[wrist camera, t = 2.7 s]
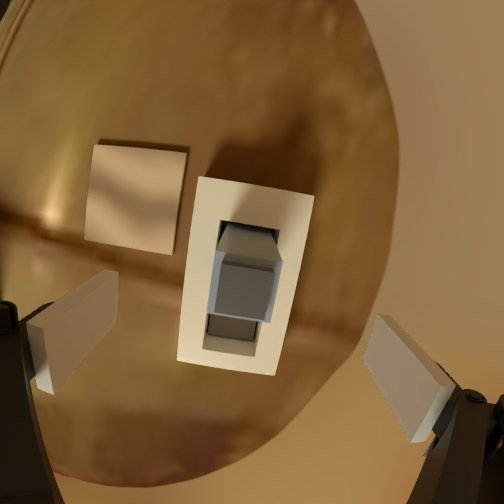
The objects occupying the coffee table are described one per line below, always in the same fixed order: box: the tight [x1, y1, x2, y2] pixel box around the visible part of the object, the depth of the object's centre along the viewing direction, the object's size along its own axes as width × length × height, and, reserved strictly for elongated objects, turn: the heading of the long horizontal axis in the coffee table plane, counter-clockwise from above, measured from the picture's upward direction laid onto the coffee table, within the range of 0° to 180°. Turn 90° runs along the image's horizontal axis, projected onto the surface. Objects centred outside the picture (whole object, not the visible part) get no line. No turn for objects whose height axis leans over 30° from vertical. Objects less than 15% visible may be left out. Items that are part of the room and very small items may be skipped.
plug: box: [206, 223, 283, 323], centre depth 25 cm, size 4×4×13 cm
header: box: [177, 176, 315, 375], centre depth 30 cm, size 18×10×4 cm, turn 170°
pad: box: [84, 145, 188, 255], centre depth 30 cm, size 10×10×1 cm
